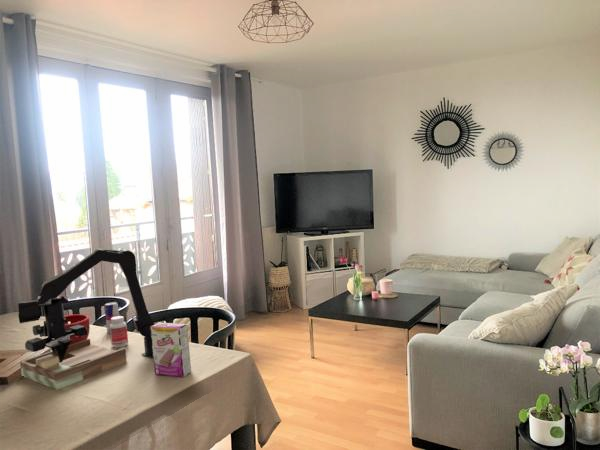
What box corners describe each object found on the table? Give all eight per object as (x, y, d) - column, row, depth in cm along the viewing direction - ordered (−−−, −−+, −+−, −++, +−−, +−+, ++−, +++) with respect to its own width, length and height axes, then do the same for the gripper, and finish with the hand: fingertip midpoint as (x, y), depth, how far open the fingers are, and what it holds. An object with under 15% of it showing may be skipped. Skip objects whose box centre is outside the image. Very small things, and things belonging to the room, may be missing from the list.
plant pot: (47, 353, 189) (43, 322, 188) (74, 341, 201) (71, 312, 200) (73, 356, 184) (69, 324, 183) (99, 344, 196) (96, 314, 195)
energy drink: (108, 333, 209) (105, 306, 208) (106, 330, 214) (103, 303, 213) (121, 331, 212) (118, 303, 210) (119, 328, 216) (116, 301, 215)
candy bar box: (153, 375, 161) (149, 326, 159) (162, 369, 166) (158, 321, 164) (183, 378, 158) (179, 328, 156) (192, 371, 162) (187, 323, 160)
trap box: (126, 362, 175) (125, 348, 174) (57, 389, 155) (55, 374, 154) (89, 351, 188) (88, 338, 188) (21, 375, 168) (20, 361, 168)
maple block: (59, 368, 164) (58, 356, 164) (44, 374, 160) (43, 362, 160) (51, 365, 167) (50, 354, 167) (37, 371, 163) (35, 359, 163)
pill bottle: (131, 344, 193) (128, 316, 192) (115, 349, 189) (112, 320, 188) (124, 341, 198) (121, 314, 197) (109, 345, 194) (106, 318, 193)
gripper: (68, 307, 178) (73, 349, 179) (14, 322, 163) (20, 367, 164) (86, 310, 171) (91, 354, 173) (30, 326, 156) (37, 374, 158)
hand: (60, 362), depth 167 cm, fingers closed
